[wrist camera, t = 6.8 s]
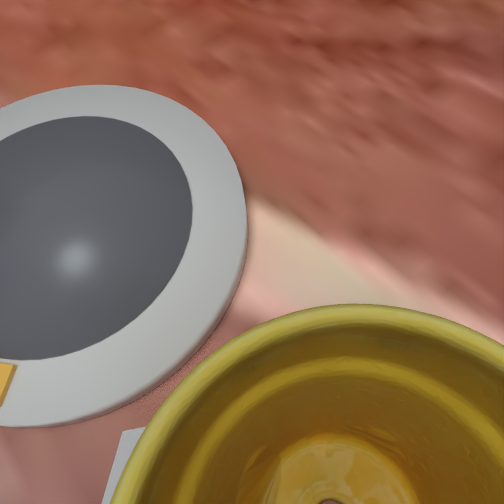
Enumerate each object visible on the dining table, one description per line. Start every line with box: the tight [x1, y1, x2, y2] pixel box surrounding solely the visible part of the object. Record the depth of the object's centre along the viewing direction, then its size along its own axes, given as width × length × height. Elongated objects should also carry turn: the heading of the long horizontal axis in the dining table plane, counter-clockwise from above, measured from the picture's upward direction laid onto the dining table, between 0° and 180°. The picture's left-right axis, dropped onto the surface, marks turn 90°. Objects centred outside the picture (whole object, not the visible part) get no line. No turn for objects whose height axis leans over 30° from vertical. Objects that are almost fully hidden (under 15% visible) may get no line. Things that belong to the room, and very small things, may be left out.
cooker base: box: [0, 85, 248, 428], centre depth 21 cm, size 18×18×2 cm
